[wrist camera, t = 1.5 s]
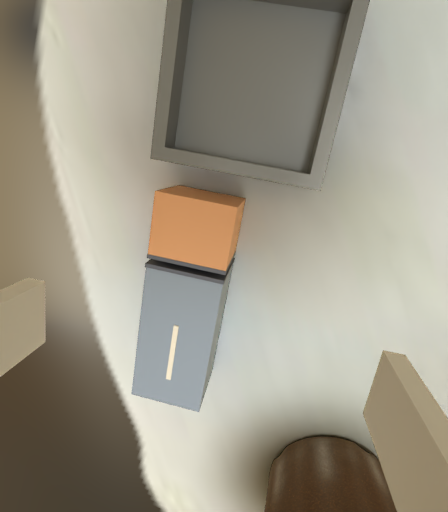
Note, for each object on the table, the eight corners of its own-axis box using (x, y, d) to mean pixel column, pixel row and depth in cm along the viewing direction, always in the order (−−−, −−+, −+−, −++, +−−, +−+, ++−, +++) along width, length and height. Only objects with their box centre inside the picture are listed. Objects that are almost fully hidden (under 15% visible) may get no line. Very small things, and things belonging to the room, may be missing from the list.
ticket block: (170, 244, 31) (145, 263, 25) (234, 258, 31) (224, 281, 25) (155, 355, 35) (130, 395, 29) (212, 370, 34) (199, 413, 28)
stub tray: (186, -19, 25) (172, -46, 22) (361, 5, 24) (375, -20, 21) (165, 158, 29) (150, 158, 26) (315, 187, 28) (320, 191, 24)
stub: (178, 185, 30) (154, 190, 24) (246, 198, 29) (237, 207, 23) (171, 240, 31) (146, 257, 25) (235, 253, 30) (225, 275, 25)
